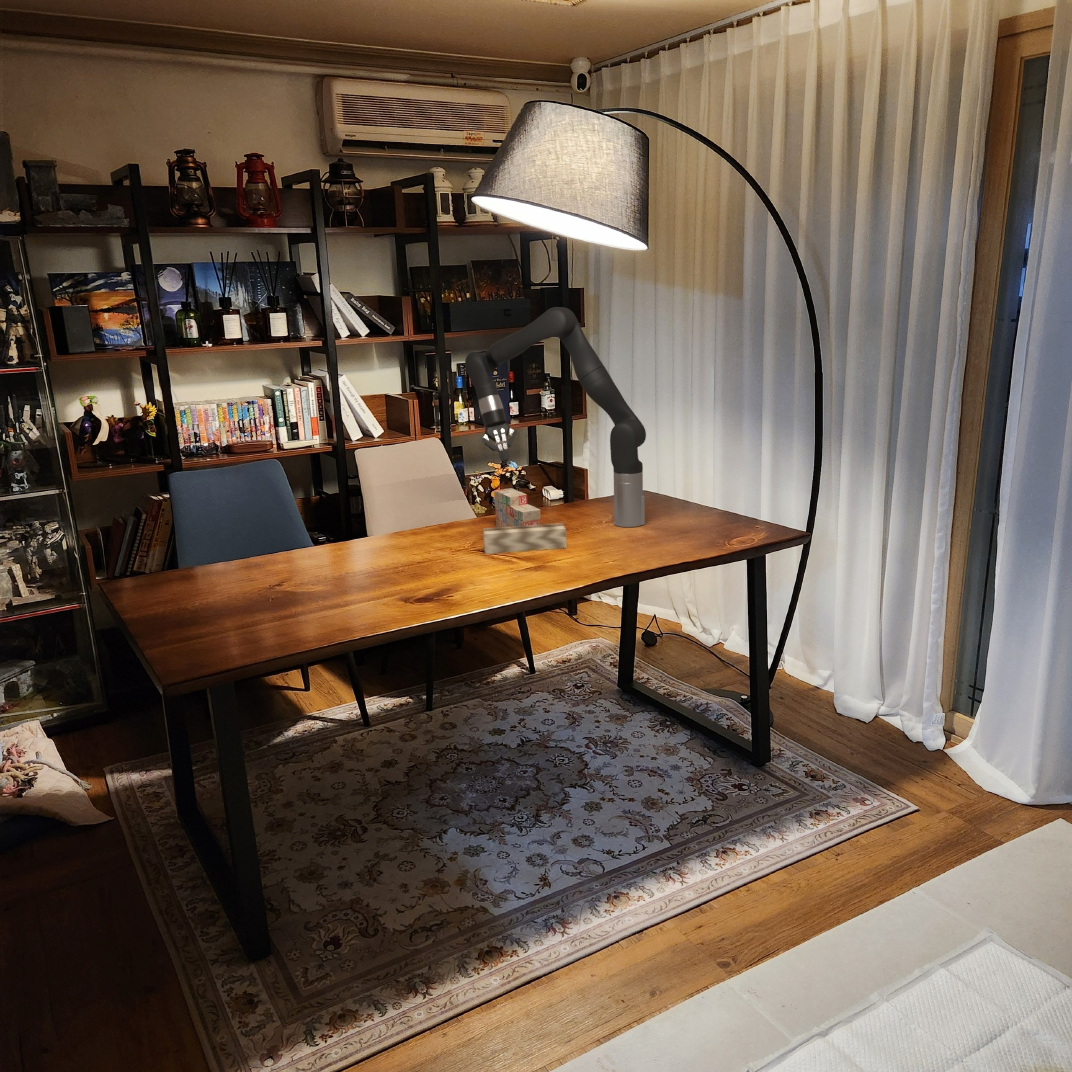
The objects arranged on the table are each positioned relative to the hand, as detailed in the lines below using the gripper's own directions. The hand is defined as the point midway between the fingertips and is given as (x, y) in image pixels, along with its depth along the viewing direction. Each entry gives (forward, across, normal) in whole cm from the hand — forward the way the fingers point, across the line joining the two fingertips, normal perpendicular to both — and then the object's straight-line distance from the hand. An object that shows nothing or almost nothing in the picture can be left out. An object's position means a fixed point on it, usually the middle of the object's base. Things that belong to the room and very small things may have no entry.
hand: (505, 461), depth 305 cm
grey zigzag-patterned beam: (+30, +8, +31) cm, 43 cm away
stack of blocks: (+24, +5, +12) cm, 28 cm away
